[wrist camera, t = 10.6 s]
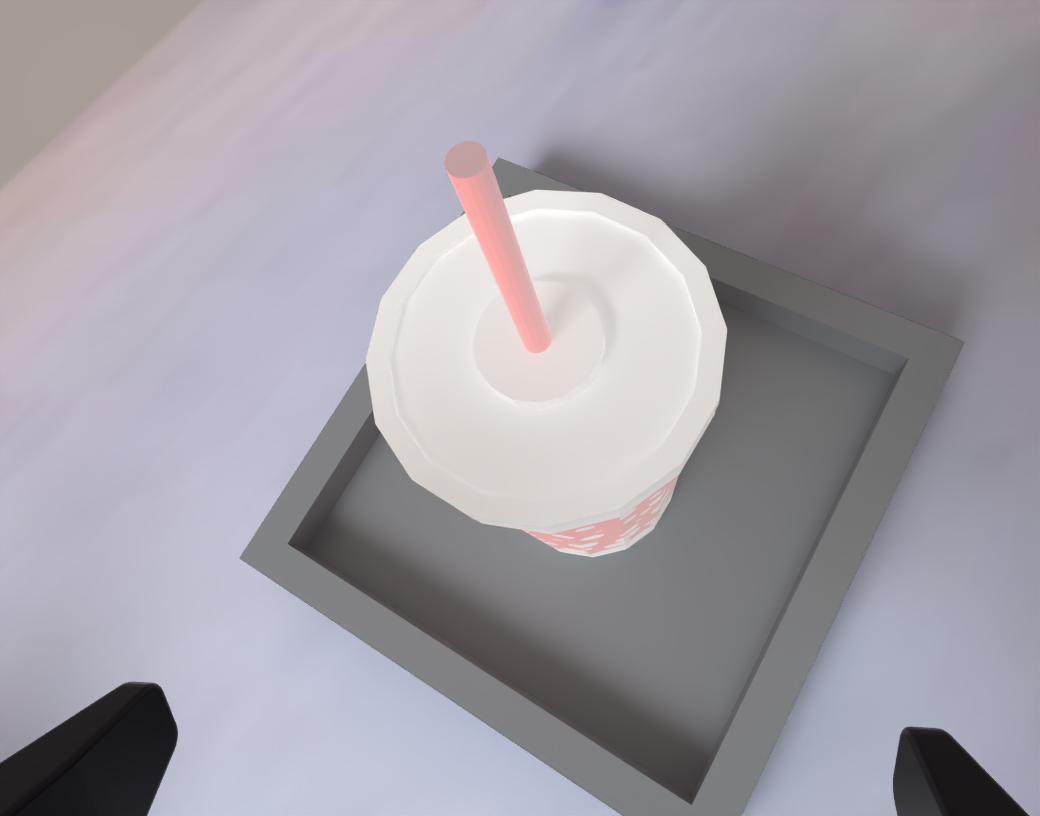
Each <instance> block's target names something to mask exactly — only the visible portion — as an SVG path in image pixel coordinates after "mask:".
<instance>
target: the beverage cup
mask: <svg viewBox="0 0 1040 816" xmlns="http://www.w3.org/2000/svg"><path fill="white" fill-rule="evenodd" d="M444 163H445V167H446V171H447V173H448V175H449V177H450V180H451V182H452V184H453V186H454V189H455V191H456V193H457V195H458V198H459V200H460V202H461V204H462V207H463V209H464V211H465V214H463V215H462V216H461V217H459V218H458V219H456V220H455V221H453V222H452V223H451V224H449V225H448V226H446V227H445V228H444V229H442V230H441V231H439V232H438V233H436V234H435V235H434V236H432V237H431V238H429V239H428V240H426V241H425V242H424V243H422V244H421V245H419V246H418V248H417V249H416V251H415V252H414V253H413V255H412V256H411V258H410V259H409V260H408V262H407V263H406V265H405V266H404V267H403V269H402V270H401V272H400V273H399V275H398V276H397V277H396V279H395V280H394V282H393V283H392V284H391V286H390V287H389V289H388V290H387V291H386V293H385V294H384V296H383V297H382V299H381V302H380V306H379V310H378V314H377V318H376V322H375V326H374V330H373V333H372V337H371V341H370V345H369V349H368V353H367V357H366V366H367V373H368V380H369V386H370V393H371V399H372V406H373V413H374V419H375V424H376V426H377V427H378V429H379V430H380V432H381V433H382V435H383V436H384V438H385V440H386V441H387V443H388V444H389V446H390V447H391V449H392V450H393V452H394V453H395V455H396V456H397V458H398V460H399V461H400V463H401V464H402V466H403V467H404V469H405V470H406V472H407V473H408V475H409V476H410V478H411V479H412V480H413V481H415V482H416V483H417V484H419V485H421V486H422V487H424V488H425V489H427V490H428V491H430V492H432V493H433V494H435V495H436V496H438V497H439V498H441V499H443V500H444V501H446V502H447V503H449V504H451V505H452V506H454V507H455V508H457V509H458V510H460V511H462V512H463V513H465V514H466V515H468V516H469V517H471V518H473V519H474V520H477V521H479V522H480V523H482V524H488V525H495V526H501V527H508V528H514V529H521V530H523V531H525V532H527V533H528V534H530V535H532V536H534V537H535V538H537V539H539V540H541V541H542V542H544V543H546V544H548V545H549V546H551V547H553V548H555V549H556V550H558V551H560V552H564V553H570V554H577V555H583V556H589V557H596V556H601V555H605V554H609V553H613V552H617V551H621V550H625V549H627V548H629V547H630V546H631V545H633V544H634V543H636V542H637V541H638V540H640V539H641V538H642V537H644V536H645V535H646V534H648V533H649V532H650V531H652V530H653V529H654V528H655V526H656V524H657V522H658V521H659V519H660V517H661V516H662V514H663V512H664V511H665V509H666V507H667V506H668V504H669V502H670V500H671V497H672V494H673V491H674V488H675V485H676V482H677V479H678V476H679V474H680V472H681V471H682V469H683V467H684V465H685V464H686V462H687V460H688V459H689V457H690V455H691V454H692V452H693V450H694V449H695V447H696V445H697V444H698V442H699V440H700V438H701V437H702V435H703V433H704V432H705V430H706V428H707V427H708V425H709V423H710V422H711V420H712V418H713V416H714V415H715V410H716V408H717V406H718V405H719V399H720V391H721V382H722V373H723V364H724V355H725V345H726V336H727V327H726V324H725V321H724V318H723V316H722V313H721V310H720V307H719V304H718V301H717V298H716V295H715V292H714V289H713V286H712V283H711V281H710V278H709V275H708V272H707V269H706V266H705V265H704V264H703V263H702V262H701V261H700V260H699V259H698V258H697V257H696V256H695V255H694V254H693V253H692V252H691V250H690V249H689V248H688V247H687V246H686V245H685V244H684V243H683V242H682V241H681V240H680V239H679V238H678V237H677V236H676V235H675V234H674V233H673V232H672V230H671V229H670V228H669V227H668V226H667V225H666V224H665V223H664V222H663V221H662V220H661V219H659V218H657V217H655V216H652V215H650V214H648V213H645V212H643V211H641V210H639V209H636V208H634V207H632V206H629V205H627V204H625V203H623V202H620V201H618V200H616V199H613V198H611V197H609V196H607V195H604V194H602V193H590V192H570V191H551V190H533V191H529V192H526V193H523V194H519V195H516V196H512V197H509V198H505V199H503V197H502V195H501V192H500V189H499V186H498V183H497V180H496V177H495V175H494V172H493V169H492V166H491V163H490V160H489V157H488V154H487V152H486V149H485V148H484V147H483V146H482V145H481V144H479V143H476V142H473V141H465V142H462V143H459V144H457V145H455V146H454V147H453V148H451V149H450V151H449V152H448V153H447V155H446V158H445V162H444Z"/></svg>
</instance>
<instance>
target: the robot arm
mask: <svg viewBox="0 0 1040 816" xmlns="http://www.w3.org/2000/svg"><path fill="white" fill-rule="evenodd" d="M177 737H178V729H177V725H176V722H175V720H174V717H173V715H172V712H171V710H170V707H169V704H168V702H167V699H166V697H165V694H164V692H163V690H162V688H161V687H160V686H159V685H157V684H155V683H147V682H127V683H125V684H122V685H121V686H119V687H117V688H116V689H114V690H113V691H111V692H110V693H108V694H106V695H105V696H103V697H102V698H100V699H99V700H97V701H96V702H94V703H93V704H91V705H89V706H88V707H86V708H85V709H83V710H82V711H80V712H79V713H77V714H75V715H74V716H72V717H71V718H69V719H68V720H66V721H65V722H63V723H62V724H60V725H58V726H57V727H55V728H54V729H52V730H51V731H49V732H48V733H46V734H45V735H43V736H41V737H40V738H38V739H37V740H35V741H34V742H32V743H31V744H29V745H27V746H26V747H24V748H23V749H21V750H20V751H18V752H17V753H15V754H14V755H12V756H10V757H9V758H7V759H6V760H4V761H3V762H1V763H0V816H147V815H148V812H149V810H150V808H151V805H152V803H153V800H154V798H155V795H156V793H157V791H158V788H159V786H160V783H161V781H162V779H163V776H164V774H165V771H166V769H167V767H168V764H169V762H170V759H171V757H172V755H173V752H174V750H175V747H176V743H177ZM893 793H894V800H895V806H896V811H897V815H898V816H1029V815H1028V814H1027V813H1026V812H1025V811H1024V810H1023V809H1022V808H1021V807H1020V806H1019V805H1018V804H1017V803H1016V802H1015V801H1014V800H1013V798H1012V797H1011V796H1010V795H1009V794H1008V793H1007V792H1006V791H1005V790H1004V789H1003V788H1002V787H1001V786H1000V785H999V784H998V783H997V782H996V781H995V780H994V779H993V778H992V777H991V776H990V775H989V774H988V773H987V772H986V771H985V770H984V769H983V768H982V767H981V766H980V765H979V764H978V763H977V762H976V761H975V760H974V758H973V757H972V756H971V755H970V754H969V753H968V752H967V751H966V750H965V749H964V748H963V747H962V746H961V745H960V744H959V743H958V742H957V741H956V740H955V739H954V738H953V737H952V736H951V735H950V734H949V733H947V732H946V731H944V730H942V729H938V728H923V727H906V728H904V729H903V731H902V733H901V735H900V740H899V746H898V752H897V758H896V764H895V769H894V775H893Z"/></svg>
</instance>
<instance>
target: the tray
mask: <svg viewBox="0 0 1040 816" xmlns="http://www.w3.org/2000/svg"><path fill="white" fill-rule="evenodd" d="M492 169H493V172H494V175H495V177H496V180H497V183H498V186H499V189H500V192H501V195H502V197H503V199H505V198H509V197H512V196H516V195H519V194H523V193H526V192H529V191H533V190H551V191H570V192H584V191H582V190H579V189H577V188H574V187H572V186H569V185H567V184H564V183H562V182H559V181H557V180H554V179H552V178H549V177H547V176H544V175H541V174H539V173H536V172H534V171H531V170H529V169H526V168H524V167H521V166H519V165H516V164H514V163H511V162H509V161H506V160H504V159H501V158H499V157H498V159H497V161H496V162H495V164H494V165H493V167H492ZM463 214H465V211H464V212H463V213H462V215H463ZM462 215H461V216H462ZM461 216H460V217H461ZM666 225H667V226H668V227H669V228H670V229H671V230H672V232H673V233H674V234H675V235H676V236H677V237H678V238H679V239H680V240H681V241H682V242H683V243H684V244H685V245H686V246H687V247H688V248H689V249H690V250H691V252H692V253H693V254H694V255H695V256H696V257H697V258H698V259H699V260H700V261H701V262H702V263H703V264H704V265H705V266H706V269H707V272H708V275H709V278H710V281H711V283H712V286H713V289H714V292H715V295H716V298H717V301H718V304H719V307H720V310H721V313H722V316H723V318H724V321H725V324H726V327H727V336H726V345H725V355H724V364H723V373H722V382H721V391H720V399H719V405H718V406H717V408H716V410H715V415H714V416H713V418H712V420H711V422H710V423H709V425H708V427H707V428H706V430H705V432H704V433H703V435H702V437H701V438H700V440H699V442H698V444H697V445H696V447H695V449H694V450H693V452H692V454H691V455H690V457H689V459H688V460H687V462H686V464H685V465H684V467H683V469H682V471H681V472H680V474H679V476H678V479H677V482H676V485H675V488H674V491H673V494H672V497H671V500H670V502H669V504H668V506H667V507H666V509H665V511H664V512H663V514H662V516H661V517H660V519H659V521H658V522H657V524H656V526H655V528H654V529H653V530H652V531H650V532H649V533H648V534H646V535H645V536H644V537H642V538H641V539H640V540H638V541H637V542H636V543H634V544H633V545H631V546H630V547H629V548H627V549H625V550H621V551H617V552H613V553H609V554H605V555H601V556H596V557H589V556H583V555H577V554H570V553H564V552H560V551H558V550H556V549H555V548H553V547H551V546H549V545H548V544H546V543H544V542H542V541H541V540H539V539H537V538H535V537H534V536H532V535H530V534H528V533H527V532H525V531H523V530H521V529H514V528H508V527H501V526H495V525H488V524H482V523H480V522H479V521H477V520H474V519H473V518H471V517H469V516H468V515H466V514H465V513H463V512H462V511H460V510H458V509H457V508H455V507H454V506H452V505H451V504H449V503H447V502H446V501H444V500H443V499H441V498H439V497H438V496H436V495H435V494H433V493H432V492H430V491H428V490H427V489H425V488H424V487H422V486H421V485H419V484H417V483H416V482H415V481H413V480H412V479H411V478H410V476H409V475H408V473H407V472H406V470H405V469H404V467H403V466H402V464H401V463H400V461H399V460H398V458H397V456H396V455H395V453H394V452H393V450H392V449H391V447H390V446H389V444H388V443H387V441H386V440H385V438H384V436H383V435H382V433H381V432H380V430H379V429H378V427H377V426H376V424H375V419H374V413H373V406H372V399H371V393H370V386H369V380H368V373H367V366H366V363H365V365H364V366H363V368H362V369H361V371H360V372H359V374H358V376H357V377H356V379H355V380H354V382H353V383H352V385H351V386H350V388H349V389H348V391H347V393H346V394H345V396H344V397H343V399H342V400H341V402H340V403H339V405H338V406H337V408H336V410H335V411H334V413H333V414H332V416H331V417H330V419H329V420H328V422H327V423H326V425H325V427H324V428H323V430H322V431H321V433H320V434H319V436H318V437H317V439H316V440H315V442H314V444H313V445H312V447H311V448H310V450H309V451H308V453H307V454H306V456H305V458H304V459H303V461H302V462H301V464H300V465H299V467H298V468H297V470H296V471H295V473H294V475H293V476H292V478H291V479H290V481H289V482H288V484H287V485H286V487H285V488H284V490H283V492H282V493H281V495H280V496H279V498H278V499H277V501H276V502H275V504H274V505H273V507H272V509H271V510H270V512H269V513H268V515H267V516H266V518H265V519H264V521H263V522H262V524H261V526H260V527H259V529H258V530H257V532H256V533H255V535H254V536H253V538H252V539H251V541H250V543H249V544H248V546H247V547H246V549H245V550H244V552H243V553H242V555H241V556H240V559H241V560H243V561H244V562H246V563H247V564H249V565H250V566H252V567H253V568H255V569H256V570H258V571H259V572H261V573H262V574H264V575H265V576H267V577H268V578H270V579H271V580H273V581H274V582H276V583H277V584H279V585H280V586H282V587H283V588H285V589H286V590H288V591H289V592H290V593H292V594H293V595H295V596H296V597H298V598H299V599H301V600H302V601H304V602H305V603H307V604H308V605H310V606H311V607H313V608H314V609H316V610H317V611H319V612H320V613H322V614H323V615H325V616H326V617H328V618H329V619H331V620H332V621H334V622H335V623H337V624H338V625H340V626H341V627H343V628H344V629H346V630H347V631H349V632H350V633H352V634H353V635H355V636H356V637H357V638H359V639H360V640H362V641H363V642H365V643H366V644H368V645H369V646H371V647H372V648H374V649H375V650H377V651H378V652H380V653H381V654H383V655H384V656H386V657H387V658H389V659H390V660H392V661H393V662H395V663H396V664H398V665H399V666H401V667H402V668H404V669H405V670H407V671H408V672H410V673H411V674H413V675H414V676H416V677H417V678H419V679H420V680H422V681H423V682H424V683H426V684H427V685H429V686H430V687H432V688H433V689H435V690H436V691H438V692H439V693H441V694H442V695H444V696H445V697H447V698H448V699H450V700H451V701H453V702H454V703H456V704H457V705H459V706H460V707H462V708H463V709H465V710H466V711H468V712H469V713H471V714H472V715H474V716H475V717H477V718H478V719H480V720H481V721H483V722H484V723H486V724H487V725H489V726H490V727H492V728H493V729H494V730H496V731H497V732H499V733H500V734H502V735H503V736H505V737H506V738H508V739H509V740H511V741H512V742H514V743H515V744H517V745H518V746H520V747H521V748H523V749H524V750H526V751H527V752H529V753H530V754H532V755H533V756H535V757H536V758H538V759H539V760H541V761H542V762H544V763H545V764H547V765H548V766H550V767H551V768H553V769H554V770H556V771H557V772H559V773H560V774H561V775H563V776H564V777H566V778H567V779H569V780H570V781H572V782H573V783H575V784H576V785H578V786H579V787H581V788H582V789H584V790H585V791H587V792H588V793H590V794H591V795H593V796H594V797H596V798H597V799H599V800H600V801H602V802H603V803H605V804H606V805H608V806H609V807H611V808H612V809H614V810H615V811H617V812H618V813H620V814H621V815H623V816H741V815H742V813H743V811H744V809H745V807H746V805H747V803H748V801H749V798H750V796H751V794H752V792H753V790H754V788H755V786H756V784H757V781H758V779H759V777H760V775H761V773H762V771H763V769H764V767H765V765H766V762H767V760H768V758H769V756H770V754H771V752H772V750H773V748H774V745H775V743H776V741H777V739H778V737H779V735H780V733H781V731H782V728H783V726H784V724H785V722H786V720H787V718H788V716H789V714H790V712H791V709H792V707H793V705H794V703H795V701H796V699H797V697H798V695H799V692H800V690H801V688H802V686H803V684H804V682H805V680H806V678H807V675H808V673H809V671H810V669H811V667H812V665H813V663H814V661H815V658H816V656H817V654H818V652H819V650H820V648H821V646H822V644H823V642H824V639H825V637H826V635H827V633H828V631H829V629H830V627H831V625H832V622H833V620H834V618H835V616H836V614H837V612H838V610H839V608H840V605H841V603H842V601H843V599H844V597H845V595H846V593H847V591H848V589H849V586H850V584H851V582H852V580H853V578H854V576H855V574H856V572H857V569H858V567H859V565H860V563H861V561H862V559H863V557H864V555H865V552H866V550H867V548H868V546H869V544H870V542H871V540H872V538H873V536H874V533H875V531H876V529H877V527H878V525H879V523H880V521H881V519H882V516H883V514H884V512H885V510H886V508H887V506H888V504H889V502H890V499H891V497H892V495H893V493H894V491H895V489H896V487H897V485H898V482H899V480H900V478H901V476H902V474H903V472H904V470H905V468H906V466H907V463H908V461H909V459H910V457H911V455H912V453H913V451H914V449H915V446H916V444H917V442H918V440H919V438H920V436H921V434H922V432H923V429H924V427H925V425H926V423H927V421H928V419H929V417H930V415H931V413H932V410H933V408H934V406H935V404H936V402H937V400H938V398H939V396H940V393H941V391H942V389H943V387H944V385H945V383H946V381H947V379H948V376H949V374H950V372H951V370H952V368H953V366H954V364H955V362H956V360H957V357H958V355H959V353H960V351H961V349H962V347H963V345H964V343H965V342H963V341H961V340H958V339H956V338H953V337H951V336H948V335H946V334H943V333H941V332H938V331H936V330H933V329H931V328H928V327H926V326H923V325H920V324H918V323H915V322H913V321H910V320H908V319H905V318H903V317H900V316H898V315H895V314H893V313H890V312H888V311H885V310H883V309H880V308H878V307H875V306H872V305H870V304H867V303H865V302H862V301H860V300H857V299H855V298H852V297H850V296H847V295H845V294H842V293H840V292H837V291H835V290H832V289H830V288H827V287H824V286H822V285H819V284H817V283H814V282H812V281H809V280H807V279H804V278H802V277H799V276H797V275H794V274H792V273H789V272H787V271H784V270H782V269H779V268H776V267H774V266H771V265H769V264H766V263H764V262H761V261H759V260H756V259H754V258H751V257H749V256H746V255H744V254H741V253H739V252H736V251H734V250H731V249H728V248H726V247H723V246H721V245H718V244H716V243H713V242H711V241H708V240H706V239H703V238H701V237H698V236H696V235H693V234H691V233H688V232H685V231H683V230H680V229H678V228H675V227H673V226H670V225H668V224H666Z"/></svg>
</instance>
